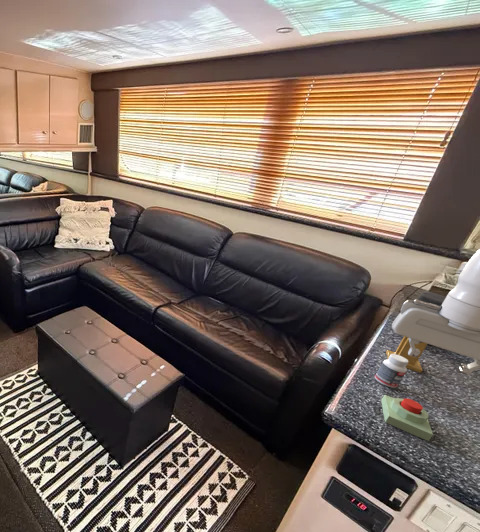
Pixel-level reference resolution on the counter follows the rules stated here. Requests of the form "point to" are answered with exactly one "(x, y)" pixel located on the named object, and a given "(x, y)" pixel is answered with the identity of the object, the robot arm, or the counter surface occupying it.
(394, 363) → the pill bottle
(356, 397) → the counter surface
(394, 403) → the button box
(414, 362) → the bracket
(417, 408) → the button
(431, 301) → the coffee jar
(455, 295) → the robot arm
